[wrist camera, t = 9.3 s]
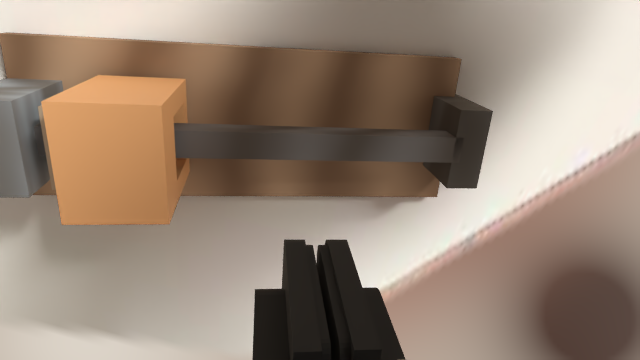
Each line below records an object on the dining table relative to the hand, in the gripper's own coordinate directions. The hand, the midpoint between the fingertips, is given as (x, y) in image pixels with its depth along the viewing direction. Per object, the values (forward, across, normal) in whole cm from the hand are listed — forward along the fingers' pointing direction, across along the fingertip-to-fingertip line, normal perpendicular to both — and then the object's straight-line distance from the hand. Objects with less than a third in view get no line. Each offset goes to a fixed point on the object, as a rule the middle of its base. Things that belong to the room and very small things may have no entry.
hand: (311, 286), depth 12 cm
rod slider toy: (+20, +2, +1) cm, 20 cm away
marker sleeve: (+18, +9, +1) cm, 20 cm away
